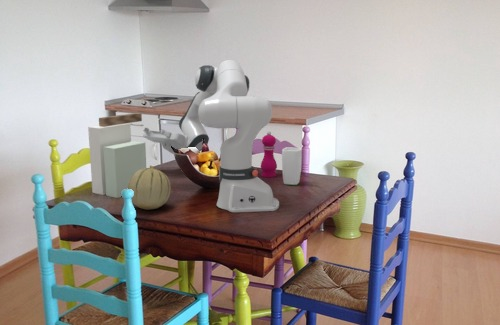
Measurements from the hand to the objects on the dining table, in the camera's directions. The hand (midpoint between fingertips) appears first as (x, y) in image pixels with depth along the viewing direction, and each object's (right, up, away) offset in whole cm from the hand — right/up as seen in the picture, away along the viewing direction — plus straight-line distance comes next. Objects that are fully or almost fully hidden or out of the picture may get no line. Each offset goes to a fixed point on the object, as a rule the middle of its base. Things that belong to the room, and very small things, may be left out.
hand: (152, 130), depth 228 cm
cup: (+59, -23, -7) cm, 64 cm away
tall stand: (-13, -25, -15) cm, 32 cm away
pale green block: (-6, -26, -19) cm, 33 cm away
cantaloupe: (+7, -30, -40) cm, 51 cm away
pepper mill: (+50, -20, +8) cm, 55 cm away
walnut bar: (-10, +2, -15) cm, 18 cm away
